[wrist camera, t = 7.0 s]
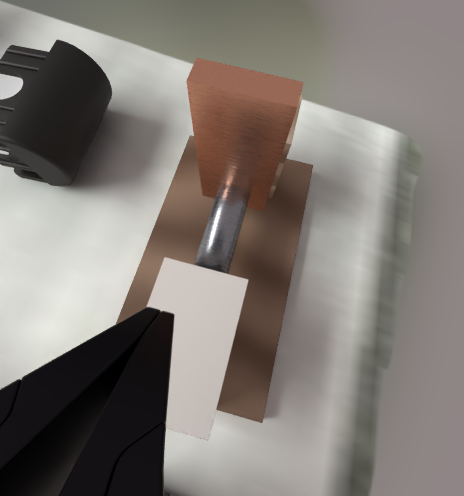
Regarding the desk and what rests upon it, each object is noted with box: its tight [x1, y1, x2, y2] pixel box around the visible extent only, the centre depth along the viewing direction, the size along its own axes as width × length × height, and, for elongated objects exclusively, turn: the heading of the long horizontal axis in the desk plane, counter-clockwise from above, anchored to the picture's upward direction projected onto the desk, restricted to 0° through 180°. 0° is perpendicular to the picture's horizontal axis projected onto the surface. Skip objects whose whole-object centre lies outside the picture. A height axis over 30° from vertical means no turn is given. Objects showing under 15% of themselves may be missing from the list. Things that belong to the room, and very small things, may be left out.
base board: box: [116, 135, 313, 423], centre depth 22 cm, size 22×12×1 cm, turn 165°
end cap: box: [0, 40, 112, 186], centre depth 23 cm, size 10×7×7 cm
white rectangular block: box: [147, 257, 248, 440], centre depth 17 cm, size 8×5×6 cm, turn 165°
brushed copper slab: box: [187, 58, 303, 274], centre depth 16 cm, size 13×5×10 cm, turn 165°
